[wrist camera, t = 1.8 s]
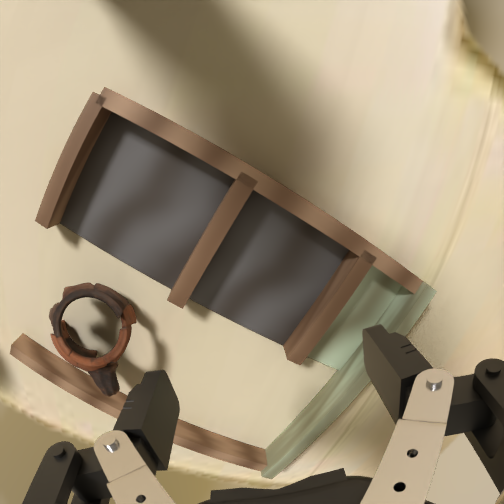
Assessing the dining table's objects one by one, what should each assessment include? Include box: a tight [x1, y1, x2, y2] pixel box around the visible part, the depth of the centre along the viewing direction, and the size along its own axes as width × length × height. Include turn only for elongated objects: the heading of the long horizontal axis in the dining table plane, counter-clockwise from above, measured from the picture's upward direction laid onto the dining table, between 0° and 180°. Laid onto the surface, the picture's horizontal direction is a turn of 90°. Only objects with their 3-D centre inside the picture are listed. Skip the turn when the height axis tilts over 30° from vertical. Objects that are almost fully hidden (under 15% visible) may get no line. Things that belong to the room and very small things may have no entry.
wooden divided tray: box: [10, 87, 437, 479], centre depth 30 cm, size 38×31×4 cm
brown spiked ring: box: [49, 283, 136, 397], centre depth 30 cm, size 12×10×8 cm
